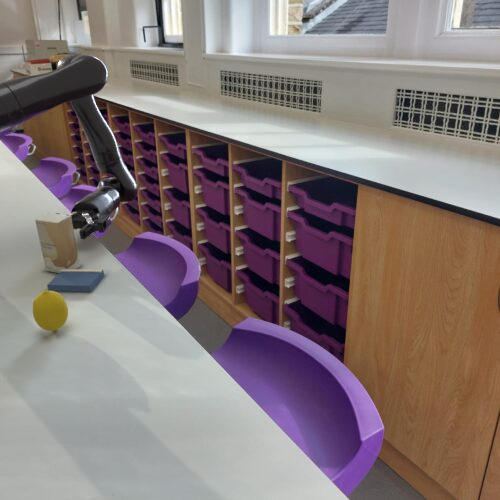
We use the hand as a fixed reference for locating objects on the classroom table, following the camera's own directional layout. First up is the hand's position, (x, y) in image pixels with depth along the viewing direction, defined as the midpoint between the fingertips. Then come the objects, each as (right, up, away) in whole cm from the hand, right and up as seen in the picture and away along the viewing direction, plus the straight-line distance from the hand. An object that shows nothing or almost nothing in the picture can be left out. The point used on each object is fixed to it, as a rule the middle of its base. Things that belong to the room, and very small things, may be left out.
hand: (63, 235), depth 107 cm
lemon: (+7, -18, -22) cm, 29 cm away
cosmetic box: (0, -8, +1) cm, 8 cm away
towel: (+5, -10, -6) cm, 13 cm away
